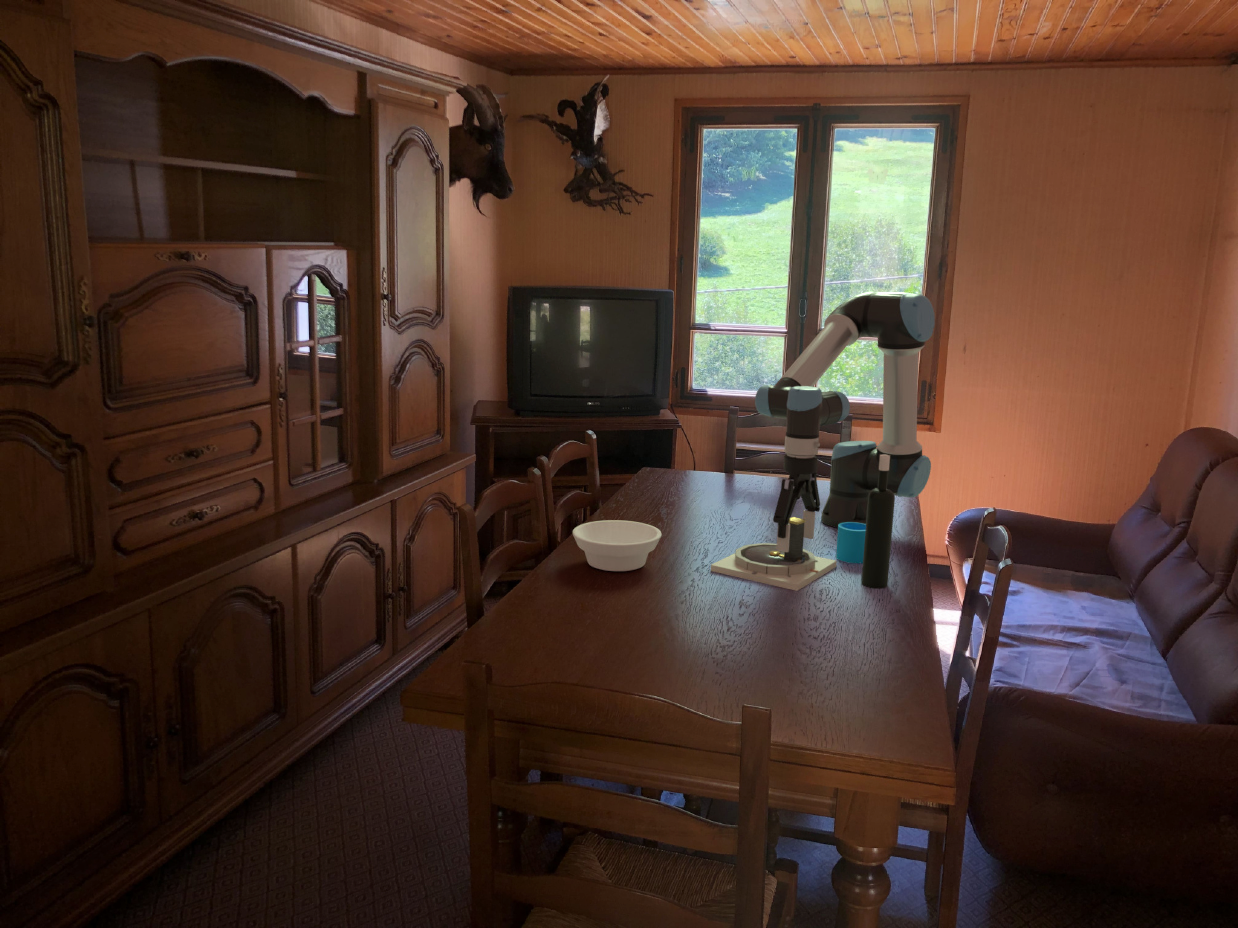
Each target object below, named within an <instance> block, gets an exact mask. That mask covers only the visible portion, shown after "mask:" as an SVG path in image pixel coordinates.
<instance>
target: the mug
mask: <svg viewBox="0 0 1238 928" xmlns="http://www.w3.org/2000/svg"><path fill="white" fill-rule="evenodd" d="M865 531H866V524H863V523H856V522H845V523H840V524H839V525H838V528H837V536H836V537H837V538H836V550H835V551H836V554H835V558H836V559H837V560H839V561H841V562H844V563H849V564H863V556H864V543H865Z"/></svg>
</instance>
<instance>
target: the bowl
mask: <svg viewBox="0 0 1238 928" xmlns="http://www.w3.org/2000/svg"><path fill="white" fill-rule="evenodd" d="M662 535H663V534H662V532H661V530H660V529H659V528H657V527H655V526H653V525H651V524H647V523H644V522H638V521H631V520H621V519H620V520H619V519H617V520H615V519H613V520H611V519H608V520H606V519H605V520H596V521H589V522H586V523H581V524H580V525H577V526H576V527H574V529H573V530H572V536H573V537H574V540H575V543H576V544H577V547H579V549H580V550H582V551H584V553H585V554H584V555H585V557H586V562H587V563H588V564H589V566H591V567H592V568H595V569H599V570H603V571H610V572H627V571H633V570H637V569H638V570H639V569H640V568H642V567H644V566H645V564H646V562H647V559H648V555H649V553H650V552H653V551H654V550H655V549H656V547H657V545H658V543H659V541H660V540H661V538H662Z"/></svg>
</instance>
